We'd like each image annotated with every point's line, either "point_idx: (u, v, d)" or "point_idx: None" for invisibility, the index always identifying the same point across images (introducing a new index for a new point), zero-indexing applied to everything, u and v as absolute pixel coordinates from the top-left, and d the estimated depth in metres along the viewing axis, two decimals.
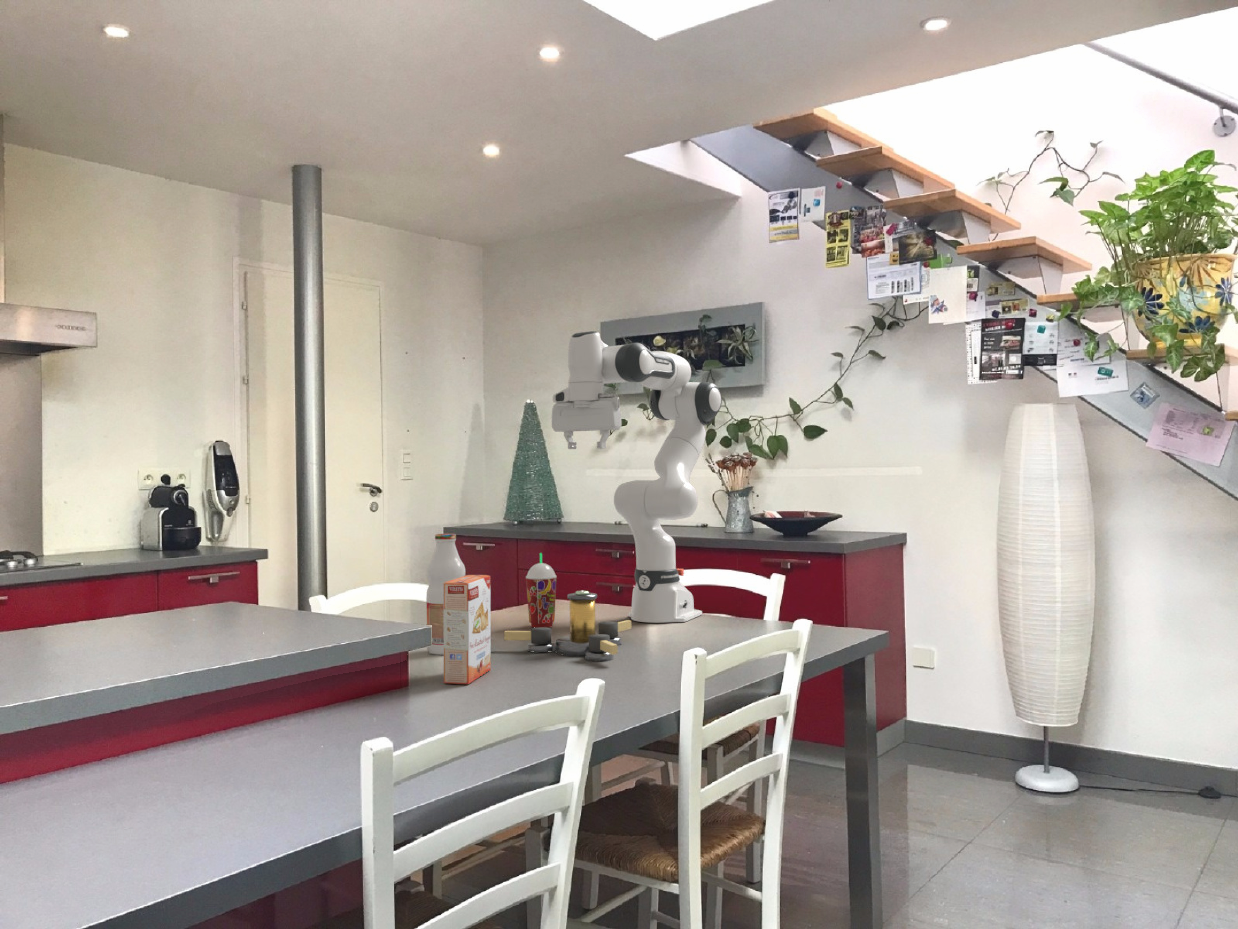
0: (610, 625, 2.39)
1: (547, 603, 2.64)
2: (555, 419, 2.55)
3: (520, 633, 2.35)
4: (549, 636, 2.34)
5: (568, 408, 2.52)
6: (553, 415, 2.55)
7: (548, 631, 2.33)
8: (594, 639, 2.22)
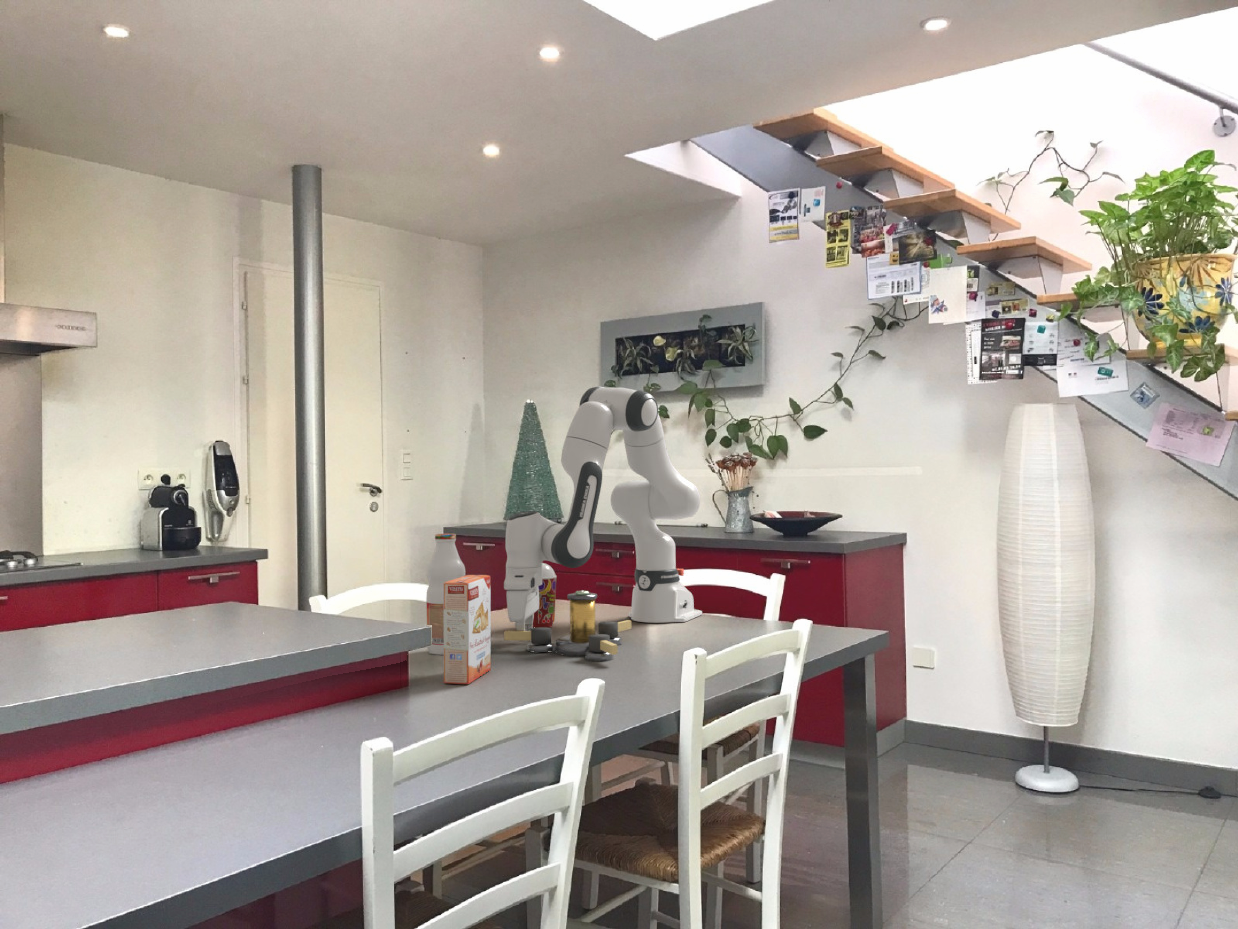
0: (610, 625, 2.39)
1: (547, 603, 2.64)
2: None
3: (520, 633, 2.35)
4: (549, 636, 2.34)
5: (528, 594, 2.36)
6: (526, 604, 2.32)
7: (548, 631, 2.33)
8: (594, 639, 2.22)
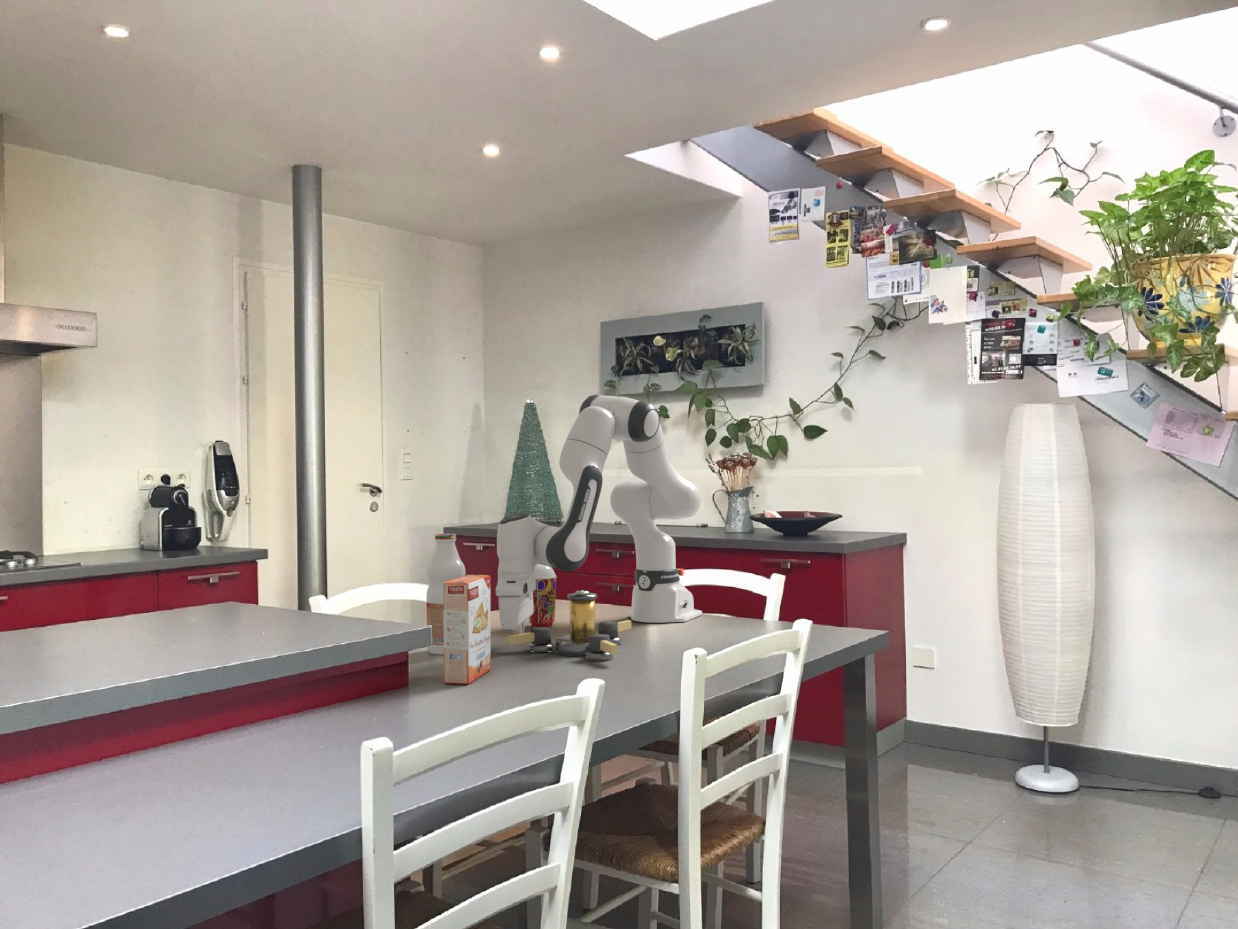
0: (610, 625, 2.39)
1: (547, 603, 2.64)
2: None
3: (524, 635, 2.31)
4: None
5: (521, 600, 2.29)
6: (518, 610, 2.25)
7: None
8: (594, 639, 2.22)
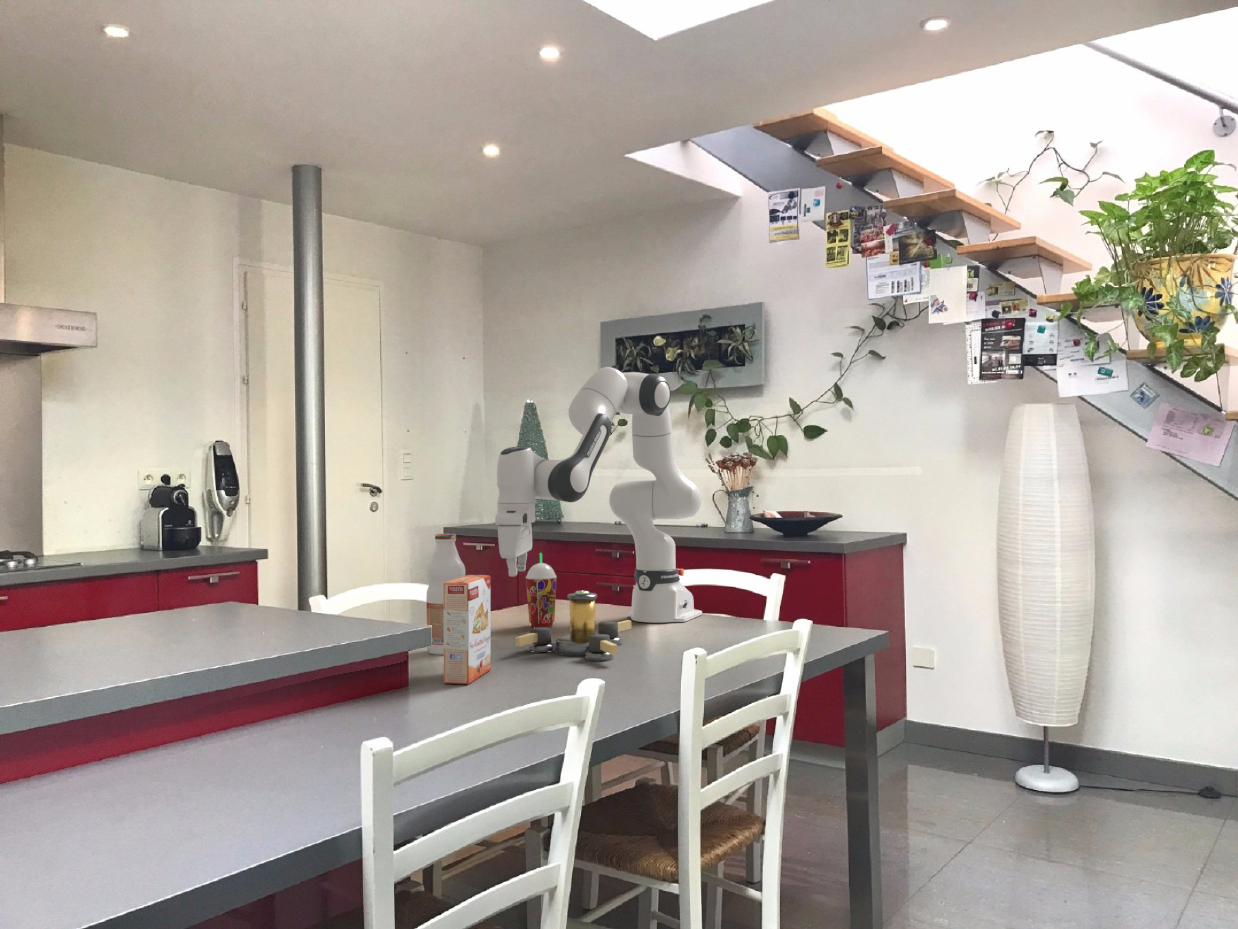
0: (610, 625, 2.39)
1: (547, 603, 2.64)
2: None
3: (530, 636, 2.30)
4: None
5: (520, 531, 2.28)
6: (518, 539, 2.24)
7: None
8: (594, 639, 2.22)
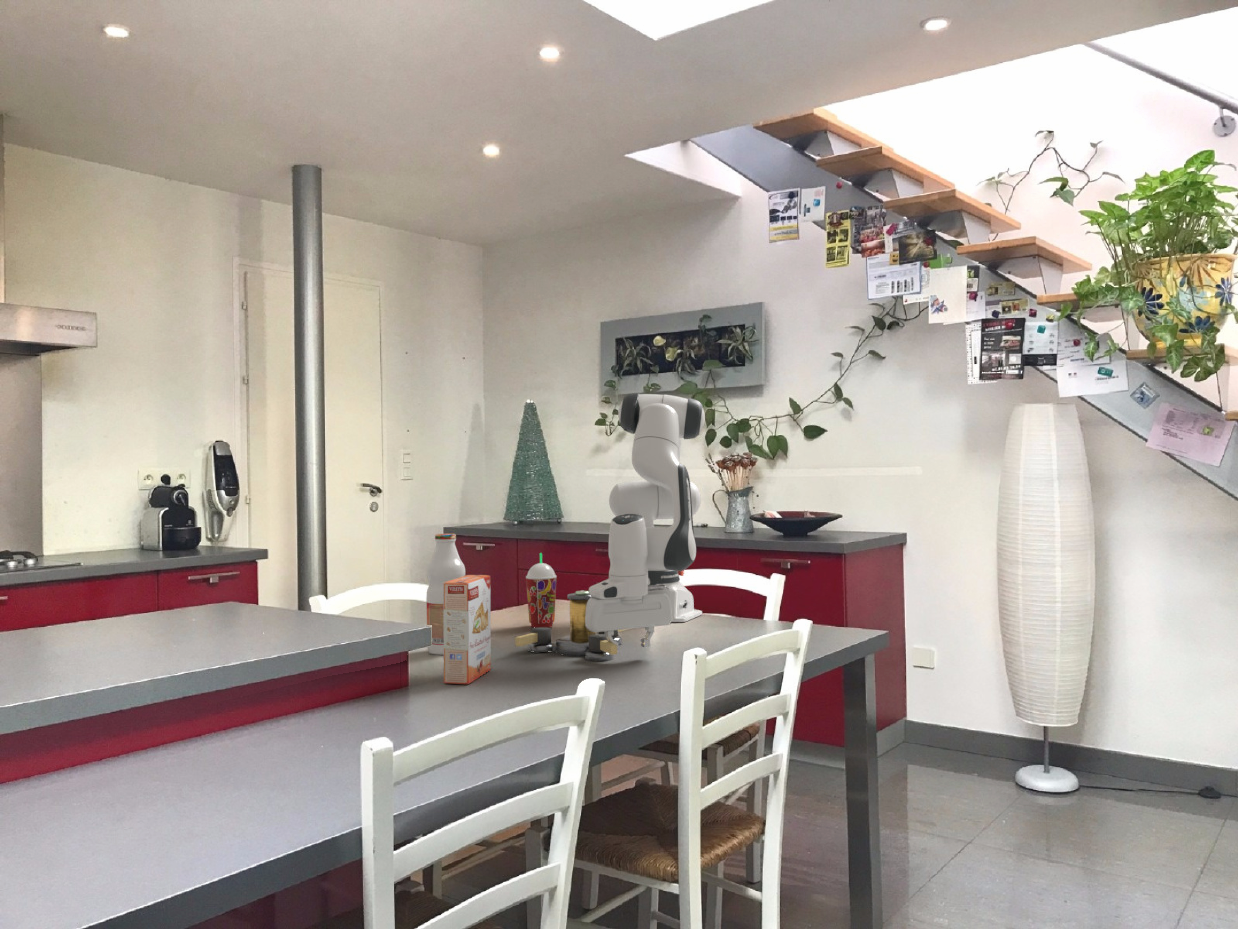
0: None
1: (547, 603, 2.64)
2: (597, 618, 2.17)
3: (530, 636, 2.30)
4: None
5: (614, 605, 2.18)
6: (596, 614, 2.16)
7: None
8: (594, 639, 2.22)
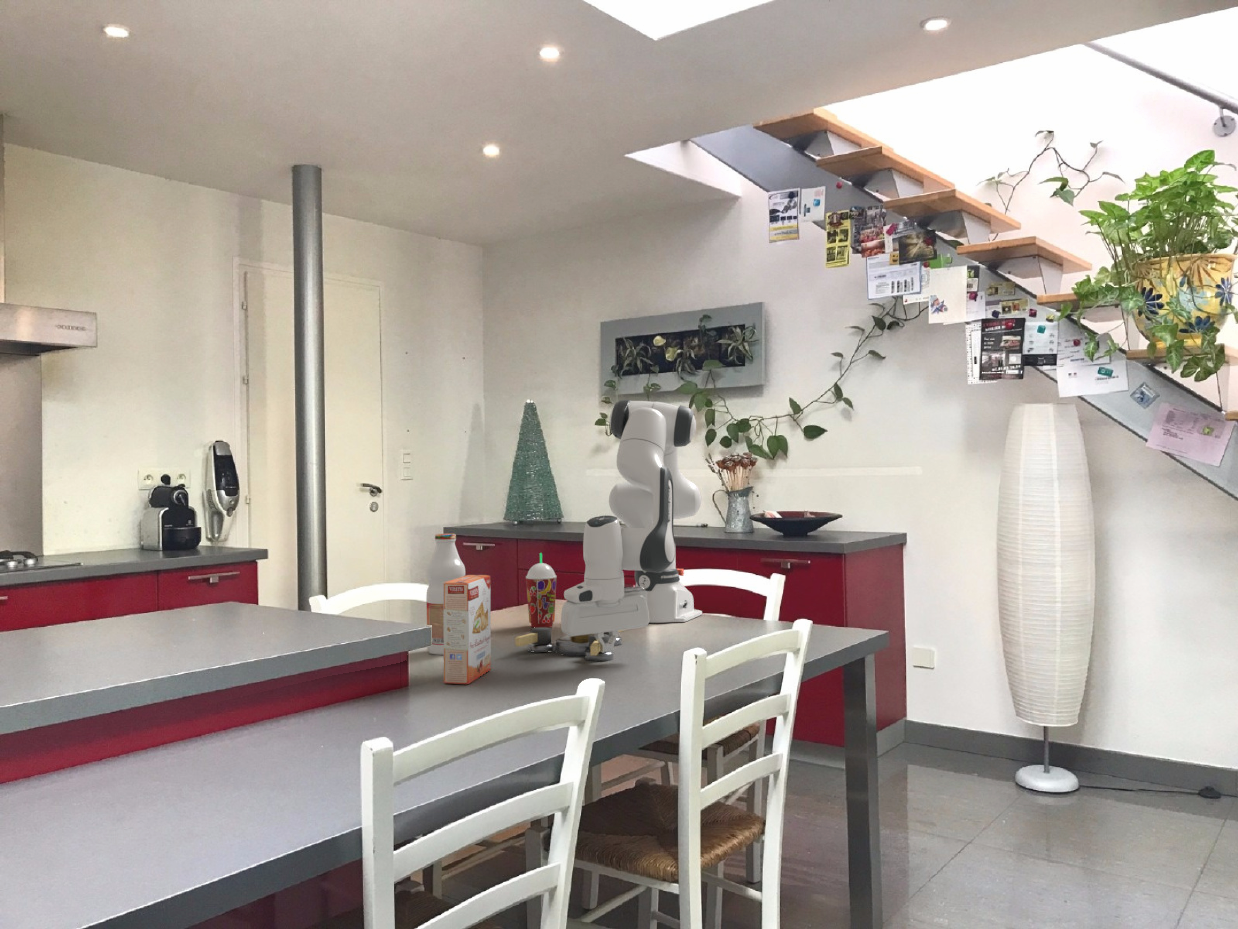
0: None
1: (547, 603, 2.64)
2: (573, 622, 2.14)
3: (530, 636, 2.30)
4: None
5: (590, 608, 2.16)
6: (571, 618, 2.13)
7: None
8: (590, 638, 2.23)
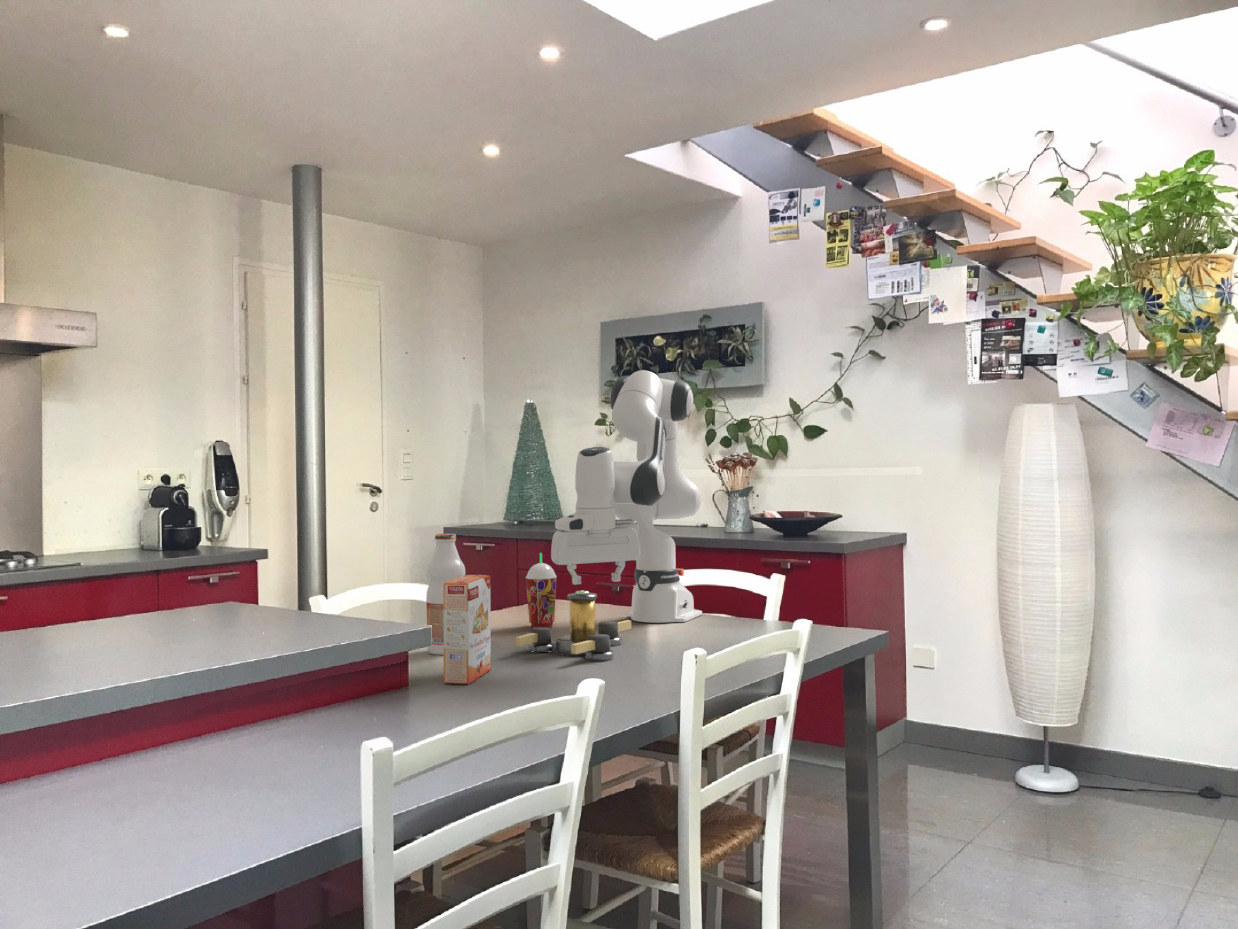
0: (610, 625, 2.39)
1: (547, 603, 2.64)
2: (563, 551, 2.14)
3: (530, 636, 2.30)
4: None
5: (580, 537, 2.15)
6: (561, 546, 2.13)
7: None
8: None
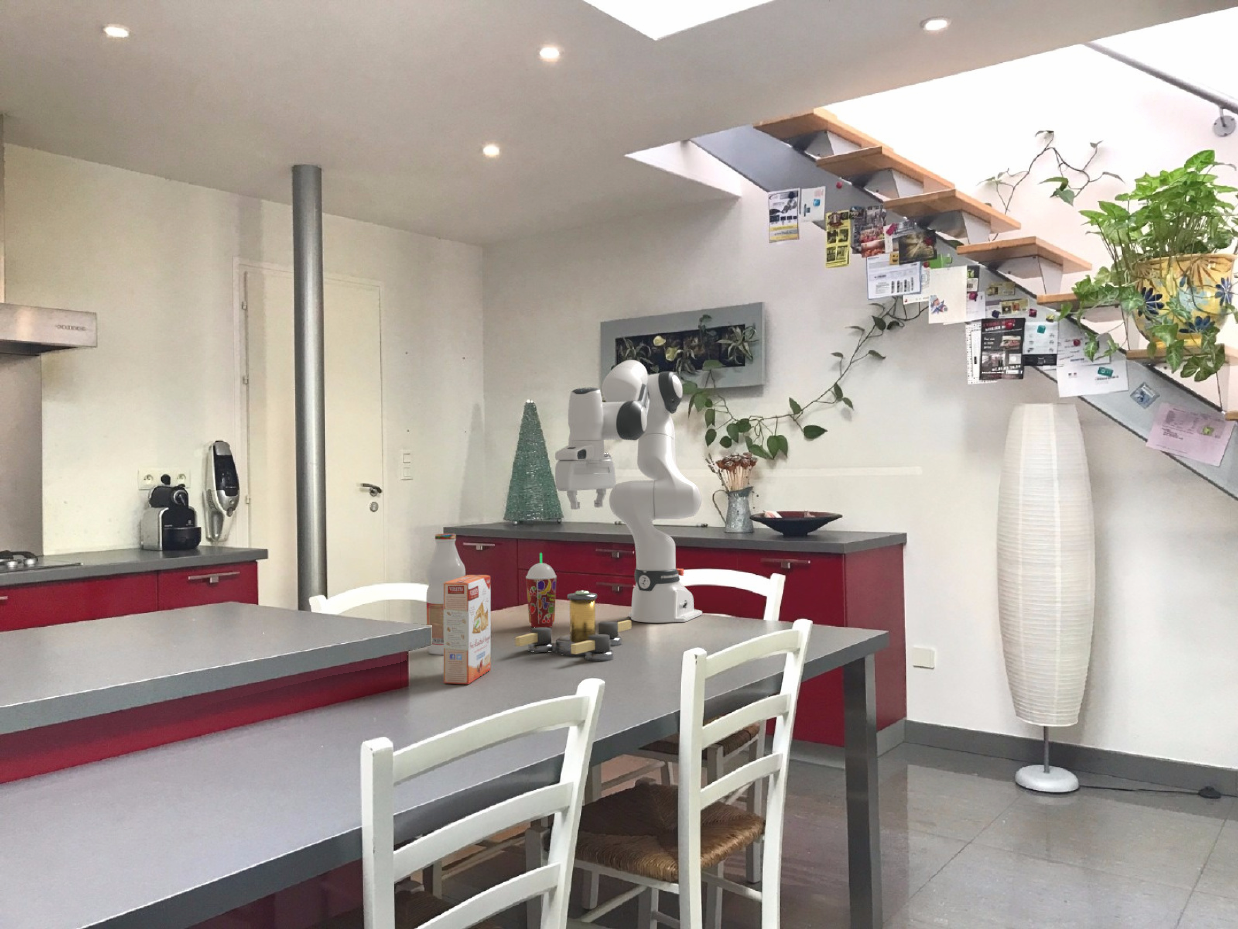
0: (610, 625, 2.39)
1: (547, 603, 2.64)
2: (571, 478, 2.37)
3: (530, 636, 2.30)
4: None
5: (581, 466, 2.40)
6: (570, 473, 2.36)
7: None
8: None
